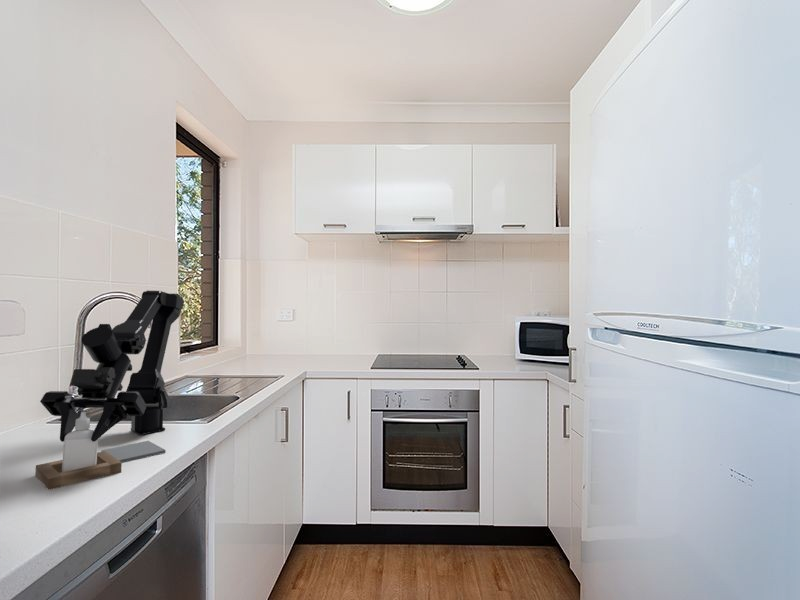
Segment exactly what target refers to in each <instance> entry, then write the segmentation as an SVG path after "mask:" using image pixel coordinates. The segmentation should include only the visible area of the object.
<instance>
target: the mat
mask: <svg viewBox="0 0 800 600" xmlns="http://www.w3.org/2000/svg"><path fill="white" fill-rule="evenodd" d="M103 451H106V452H107V453H109V454H110V455H112V456H113V457H115V458H116V459H117V460H119V461H120V462H122V463H124V462H130V461H134V460H139V459H143V458H147V456H148V457H151V456H150V455H152V456H155V455H154V454H157V455H160V453H161V454H165V453H166V449H165V448H163V447H161V446H159V445H157V444H156V443H154V442H152V441H150V440H145V441H140V442H135V443H130V444H125V445H121V446H120V445H119V446H115V447H111V448H109V447H108V448H104V449H101V451H100V452H103Z"/></svg>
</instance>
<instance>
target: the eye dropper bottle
mask: <svg viewBox="0 0 800 600" xmlns="http://www.w3.org/2000/svg"><path fill="white" fill-rule="evenodd" d="M79 416H80V417H79V418H78V419H76V423H75V427H74V430H72V432H70V433H68V434H67V435H66V436H65V439H64V442H63V450H62V451H63V452H62V460H63V461H62V472H66V471H71V470H75V469H80V468H84V467H89V466H93V465H96V463H97V453H98V447H99V445H98V444H99V438H98V439H97V440H96V441H95V442H93V441H92V440H91V437H92V434H93V432H94V429H90V427H91V425H90V424H91V418H90V417H87V412H86V411H81V413H80V415H79Z"/></svg>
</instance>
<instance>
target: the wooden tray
mask: <svg viewBox="0 0 800 600" xmlns="http://www.w3.org/2000/svg"><path fill="white" fill-rule="evenodd" d="M62 461H63V459H59V460H54V461H51V462H45V463H40V464H36V465H35V476H36V478H37V479H38V480H39V481H40V483H42V485H43V486H44V487H45V488H46V489H47V490H49V489H50V490H53V488H54V489H57V487H58V488H62V487H66V486H70V485H75V484H79V483H83V482H86V481H90V480H91V481H92V480H95V479H98V478H103V477H107V476H111V475H115V474H119V473H122V464H123V462H120V461H119V460H117V459H116V458H115V457H113V456H112V455H110V454H109V453H107V452H106V451H103V452H101V451H97V463H96V465H93V466H89V467H84V468H80V469H75V470H71V471H66V472H62ZM61 486H62V487H61Z"/></svg>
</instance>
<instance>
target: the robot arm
mask: <svg viewBox="0 0 800 600" xmlns="http://www.w3.org/2000/svg"><path fill="white" fill-rule="evenodd" d="M184 305H185V302H184V298H183V297H182V296H180V294H179V293H167V292H165V291H162V290H146V291H145V290H144V291H143V292H142V294H141V299H140V300H139V301H138V302H137V304H136V305H135V307H134V309H133V310H132V312H131V313H130V314H129V316H128V317H127V319H126V320H125V321H124V322H122V323H118V324H117V325H115V326H114V327H113V328H112V326H111V325H110V323H99V325H98V327H95V328H92V329H90V330H88V331H87V332H86V333H84V334H83V335H82V337H81V344H82V345H83V347H84V348H85V349H86V351H87V353H88V355H89V356H90V358H91V359H92V361H93V362H95V363H97V364H98V365H97V366H96V368H95V369H94V368H92V369H91V368H75V369H73V371H72V372H73V373H72V376H71V378H70V383H69V386H72V387H73V386H74V387H76V388H77V390H76V392H77V393H78V394H79V395H81V397H74V396H72V395H70V393H69V392H68V391H67V390H66V391H65V390H64V391H61V390H56V391H54V390H51V391H47V392H45V393H44V394H43V396H42V397H41V399H40V401H39V402H40V403H41V405H42V406H43V407H44V408H45V410H47V412H48V413H49V414H50V415H52V416H54V417H60V428H59V429H60V431H59V440H60V442H62V443H64V439H65V436H66V435H67V434H68V433H70V432H73V431H74V430H75V423H76V419H78V418H79V417H80V416H81V415H79V414H78V409H79V408H85V409H102V413H101V415H100V418H99V420H98V422H97V424H96V426H95V427H94V429H93V431H94V432H93V434H92V437H91V440H92V441H93V442H95V441H96V440H97V439H98V440H99V439H100V438H101V437H102V436H103V435H104V434H105V433H107V432H108V431H109V430H110V429H111V428H113V427H114V426H115V425H117V424H119V423H120V421H122V420H126V419H128V417H130V418H131V428H130V431H131V432H133V433H136V434H137V435H139V436H140V435H147V434H151V433H152V432H153V433H157V431H158V432H163V431H166V427H164V425H163V424H164V409H167V408H169V404H170V396H169V394H168V392H167V390H166V387H165V385H166V383H165V380H164V378H163V375H162V368H163V367H162V366H163V363H164V358H165V354H166V350H167V346H168V345H167V344H168V340H169V335H170V333H171V332H170V331H171V326H172V324H173V323H174V322H175V321H176V320H177V319H179V318H180V315H181V312H182V310H183V308H184ZM150 324H151V326H150ZM149 326H150V330H149V334H148V338H147V339H146V336H145V334H146V331H147V329H148V327H149ZM146 341H147V343H146ZM145 346H146V347H145ZM144 349H145V351H144V355H143V358H142V362H141V366H140V369H139V370H138V371H137V372H132V374H131V375H130V377H129V378H130V379H129V383H128V385H127V388H126V391H123V389H124V386H123V385H122V383H123V380H124V377H125V376H126V373H127V372H131V371H132V370H133V365H132V360H131V359H130V357H129V355H140V354H141V352H142V351H143V350H144ZM118 391H119V392H118Z"/></svg>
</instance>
